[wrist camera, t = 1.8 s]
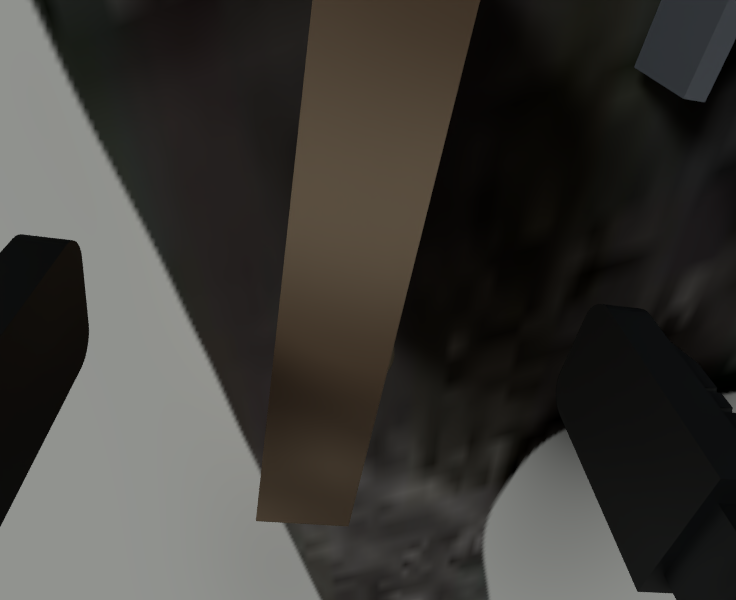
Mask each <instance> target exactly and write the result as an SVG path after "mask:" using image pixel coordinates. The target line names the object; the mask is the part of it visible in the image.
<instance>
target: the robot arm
mask: <svg viewBox="0 0 736 600" xmlns="http://www.w3.org/2000/svg"><path fill="white" fill-rule="evenodd" d="M88 338H89V323H88V314H87V303H86V294H85V284H84V273H83V263H82V255H81V250H80V247H79V245H78V243H77V242H75V241H73V240H65V239H56V238H47V237H39V236H30V235H21V234H20V235H17V236H15V237H14V238H13V239H12V240H11V241H10V242H9V243H8V245H7V246H6V247H5V248H4V249H3V250H2V251H1V252H0V526H1V524H2V522H3V520H4V518H5V516H6V514H7V512H8V511H9V509H10V507H11V505H12V503H13V501H14V499H15V497H16V495H17V493H18V491H19V489H20V487H21V485H22V483H23V481H24V479H25V477H26V475H27V473H28V471H29V469H30V467H31V465H32V463H33V461H34V459H35V457H36V455H37V454H38V451H39V450H40V448H41V446H42V444H43V442H44V440H45V438H46V436H47V434H48V432H49V430H50V428H51V426H52V424H53V422H54V420H55V418H56V416H57V414H58V412H59V411H60V409H61V407H62V405H63V403H64V401H65V399H66V397H67V395H68V393H69V391H70V389H71V387H72V385H73V383H74V381H75V379H76V377H77V375H78V373H79V371H80V369H81V367H82V365H83V362H84V359H85V356H86V352H87V346H88ZM556 403H557V408H558V411H559V414H560V416H561V418H562V421H563V423H564V425H565V428H566V430H567V432H568V434H569V437H570V439H571V441H572V443H573V446H574V448H575V450H576V452H577V455H578V457H579V459H580V462H581V464H582V466H583V469H584V471H585V473H586V475H587V478H588V479H589V482H590V484H591V486H592V489H593V491H594V493H595V496H596V498H597V500H598V503H599V505H600V507H601V509H602V512H603V514H604V516H605V519H606V521H607V523H608V525H609V528H610V530H611V532H612V534H613V537H614V539H615V541H616V543H617V546H618V548H619V551H620V553H621V555H622V557H623V560H624V562H625V564H626V566H627V569H628V571H629V573H630V576H631V578H632V580H633V582H634V585H635V587H636V589H637V591H638V592H657V593H673V594H674V596H675V598H676V600H736V413H732V407H731V405H730V404H729V403H728V401H727V400H726V399H725V397H724V396H723V395H722V394H721V393H717V387H716V386H715V385H714V383H713V382H712V381H711V379H710V378H709V377H708V376H707V374H706V373H705V372H704V370H703V369H702V368H701V367H700V365H699V364H698V363H697V362H695V361H694V360H693V359H692V358H690V357H689V356H688V355H687V354H685V353H684V352H683V351H681V350H680V349H679V348H678V347H676V346H675V345H674V344H673V343H671V342H670V341H669V339H668V338H667V337H666V335H665V334H664V333H663V331H662V330H661V329H660V327H659V326H658V325H657V323H656V322H655V321H654V319H653V318H652V317H651V315H650V314H649V313H648V312H647V311H645V310H643V309H638V308H630V307H621V306H613V305H605V304H597V305H595V306H593V307H592V308H591V309H590V310H589V312H588V313H587V315H586V317H585V319H584V321H583V323H582V325H581V328H580V330H579V332H578V334H577V337H576V339H575V341H574V343H573V345H572V348H571V350H570V352H569V354H568V356H567V359H566V361H565V363H564V365H563V367H562V370H561V372H560V374H559V377H558V381H557V386H556Z"/></svg>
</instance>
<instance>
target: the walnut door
mask: <svg viewBox="0 0 736 600" xmlns="http://www.w3.org/2000/svg"><path fill="white" fill-rule="evenodd" d="M479 3H480V0H313V1H312V10H311V19H310V28H309V38H308V47H307V56H306V65H305V74H304V84H303V93H302V102H301V111H300V120H299V130H298V139H297V148H296V157H295V166H294V176H293V185H292V194H291V203H290V212H289V222H288V231H287V240H286V249H285V258H284V268H283V277H282V286H281V295H280V304H279V314H278V323H277V332H276V341H275V350H274V360H273V369H272V378H271V387H270V396H269V406H268V415H267V424H266V433H265V442H264V452H263V461H262V470H261V479H260V488H259V498H258V507H257V517H256V521H264V522H265V521H266V522H282V523H299V524H317V525H334V526H349V522H350V518H351V514H352V510H353V506H354V502H355V498H356V494H357V490H358V486H359V482H360V478H361V474H362V470H363V466H364V462H365V458H366V454H367V450H368V446H369V442H370V438H371V434H372V430H373V426H374V422H375V418H376V414H377V410H378V406H379V402H380V398H381V394H382V390H383V386H384V382H385V378H386V374H387V372H388V370H389V369H390V367H391V365H392V363H393V360H394V342H395V338H396V334H397V330H398V326H399V322H400V318H401V314H402V310H403V306H404V302H405V298H406V294H407V290H408V286H409V282H410V278H411V274H412V270H413V266H414V262H415V258H416V254H417V250H418V246H419V242H420V238H421V234H422V230H423V226H424V223H425V219H426V215H427V211H428V207H429V203H430V199H431V195H432V191H433V187H434V183H435V179H436V175H437V171H438V167H439V163H440V159H441V155H442V151H443V147H444V143H445V139H446V135H447V131H448V127H449V123H450V119H451V115H452V111H453V107H454V103H455V99H456V95H457V91H458V87H459V83H460V79H461V75H462V71H463V67H464V63H465V59H466V55H467V51H468V47H469V43H470V39H471V35H472V31H473V27H474V23H475V19H476V15H477V11H478V7H479Z"/></svg>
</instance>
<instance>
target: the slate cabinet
mask: <svg viewBox="0 0 736 600" xmlns="http://www.w3.org/2000/svg"><path fill="white" fill-rule="evenodd" d="M735 39H736V0H661V2H660V5H659V7H658V10H657V12H656V15H655V17H654V20H653V22H652V25H651V27H650V29H649V32H648V34H647V37H646V39H645V42H644V44H643V47H642V49H641V52H640V54H639V57H638V59H637V62H636V64H635V68H636V69H638V70H639V71H641V72H642V73H644V74H646V75H647V76H649V77H650V78H652V79H653V80H655V81H656V82H658V83H660V84H661V85H663V86H664V87H666V88H667V89H669V90H670V91H672V92H674V93H675V94H677V95H678V96H680V97H681V98H683V99H688V100H694V101H699V102H705V101H706V99H707V97H708V95H709V93H710V91H711V89H712V87H713V85H714V83H715V81H716V78H717V76H718V74H719V72H720V70H721V68H722V66H723V64H724V62H725V60H726V58H727V56H728V54H729V51H730V49H731V47H732V45H733V43H734V41H735Z"/></svg>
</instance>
